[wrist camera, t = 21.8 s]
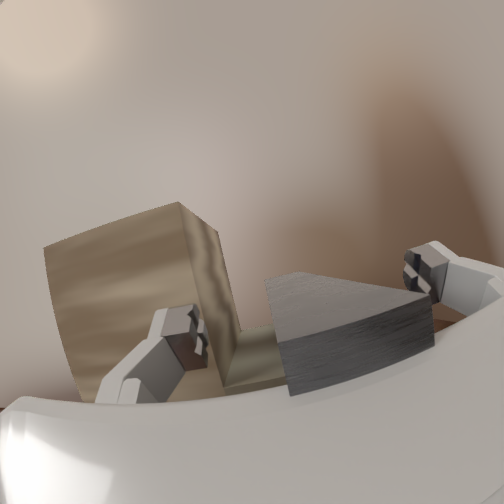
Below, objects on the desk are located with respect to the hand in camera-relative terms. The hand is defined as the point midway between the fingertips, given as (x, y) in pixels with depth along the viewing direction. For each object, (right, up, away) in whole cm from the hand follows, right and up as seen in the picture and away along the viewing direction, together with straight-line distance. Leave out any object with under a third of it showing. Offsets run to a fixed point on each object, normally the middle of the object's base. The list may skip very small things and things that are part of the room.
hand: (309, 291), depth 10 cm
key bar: (+1, -4, +4) cm, 6 cm away
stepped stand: (0, -20, +7) cm, 21 cm away
